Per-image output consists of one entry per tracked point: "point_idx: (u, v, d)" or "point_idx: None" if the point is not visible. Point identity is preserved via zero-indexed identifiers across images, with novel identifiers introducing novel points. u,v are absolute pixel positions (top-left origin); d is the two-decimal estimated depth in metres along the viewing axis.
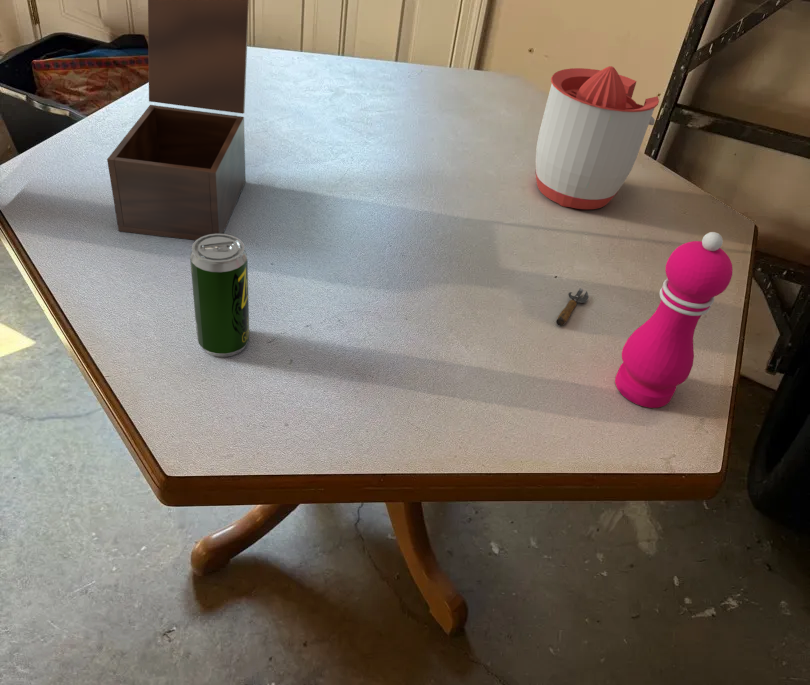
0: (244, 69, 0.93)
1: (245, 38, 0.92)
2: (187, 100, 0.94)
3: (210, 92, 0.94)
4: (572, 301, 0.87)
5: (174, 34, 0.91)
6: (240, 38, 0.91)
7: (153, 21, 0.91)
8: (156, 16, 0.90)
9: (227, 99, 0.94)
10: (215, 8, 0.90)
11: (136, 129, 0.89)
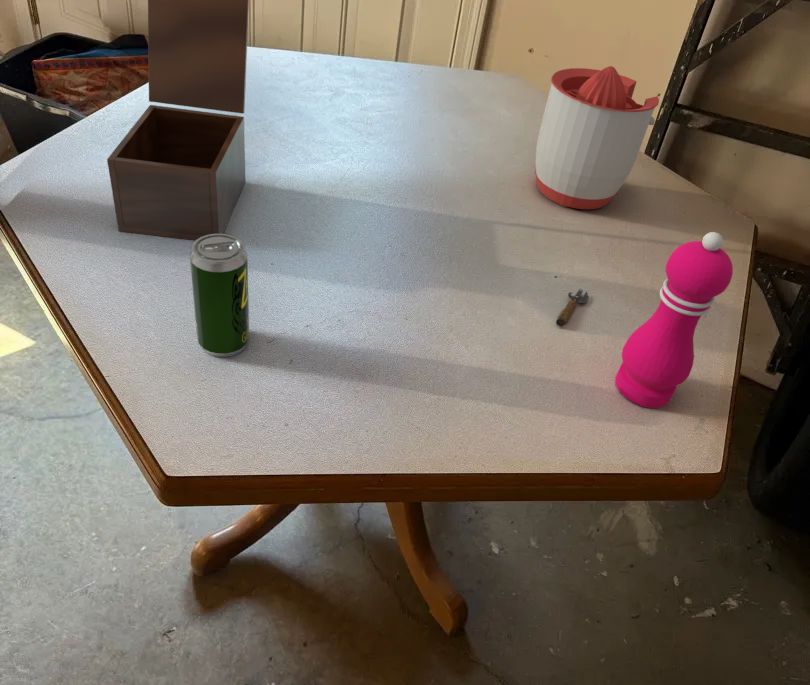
0: (244, 69, 0.93)
1: (245, 38, 0.92)
2: (187, 100, 0.94)
3: (210, 92, 0.94)
4: (572, 301, 0.87)
5: (174, 34, 0.91)
6: (240, 38, 0.91)
7: (153, 21, 0.91)
8: (156, 16, 0.90)
9: (227, 99, 0.94)
10: (215, 8, 0.90)
11: (136, 129, 0.89)
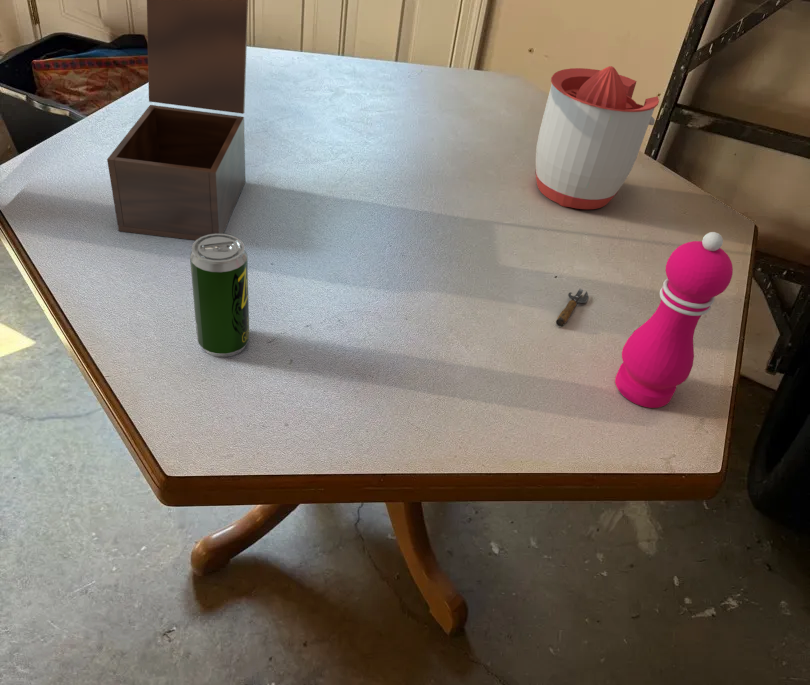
0: (244, 69, 0.93)
1: (244, 38, 0.91)
2: (187, 100, 0.94)
3: (209, 92, 0.94)
4: (572, 301, 0.87)
5: (173, 34, 0.91)
6: (239, 38, 0.91)
7: (152, 21, 0.90)
8: (155, 16, 0.90)
9: (227, 99, 0.94)
10: (214, 8, 0.90)
11: (136, 129, 0.89)
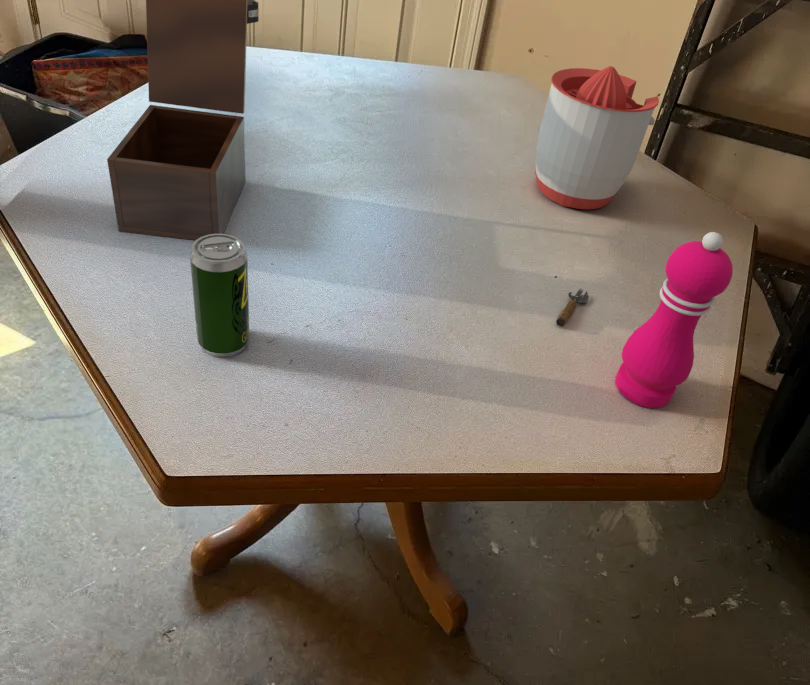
0: (243, 69, 0.93)
1: (244, 38, 0.91)
2: (187, 100, 0.94)
3: (209, 92, 0.94)
4: (572, 301, 0.87)
5: (173, 34, 0.91)
6: (239, 38, 0.91)
7: (151, 21, 0.90)
8: (154, 16, 0.90)
9: (227, 100, 0.94)
10: (214, 8, 0.89)
11: (136, 129, 0.89)
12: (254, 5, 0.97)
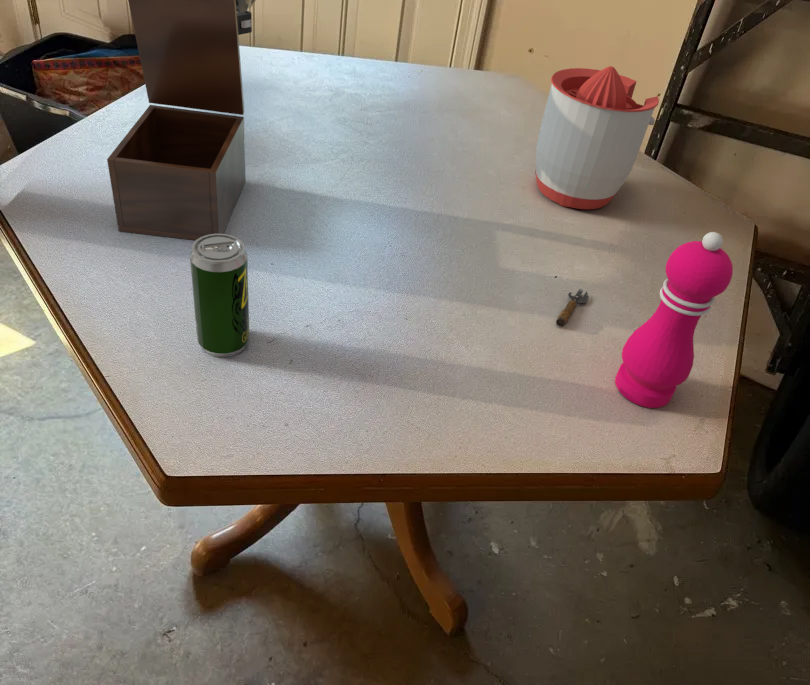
0: (239, 77, 0.91)
1: (237, 50, 0.88)
2: (186, 103, 0.94)
3: (208, 97, 0.93)
4: (572, 301, 0.87)
5: (164, 46, 0.88)
6: (232, 50, 0.88)
7: (140, 33, 0.86)
8: (142, 29, 0.86)
9: (226, 103, 0.94)
10: (202, 23, 0.85)
11: (136, 129, 0.89)
12: (247, 15, 0.93)
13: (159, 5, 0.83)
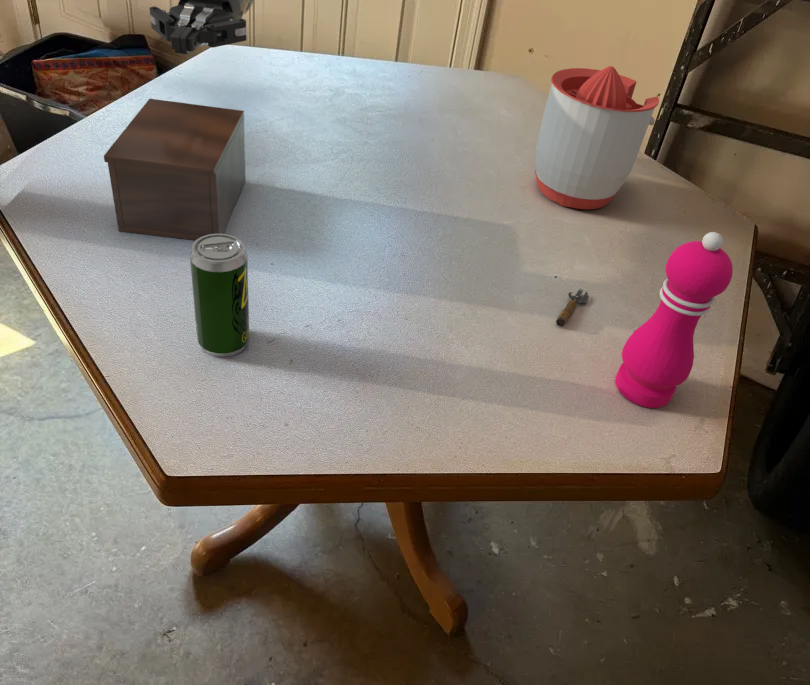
0: (234, 132, 0.91)
1: (228, 145, 0.88)
2: None
3: None
4: (572, 301, 0.87)
5: None
6: None
7: None
8: None
9: None
10: None
11: None
12: (241, 23, 0.90)
13: None
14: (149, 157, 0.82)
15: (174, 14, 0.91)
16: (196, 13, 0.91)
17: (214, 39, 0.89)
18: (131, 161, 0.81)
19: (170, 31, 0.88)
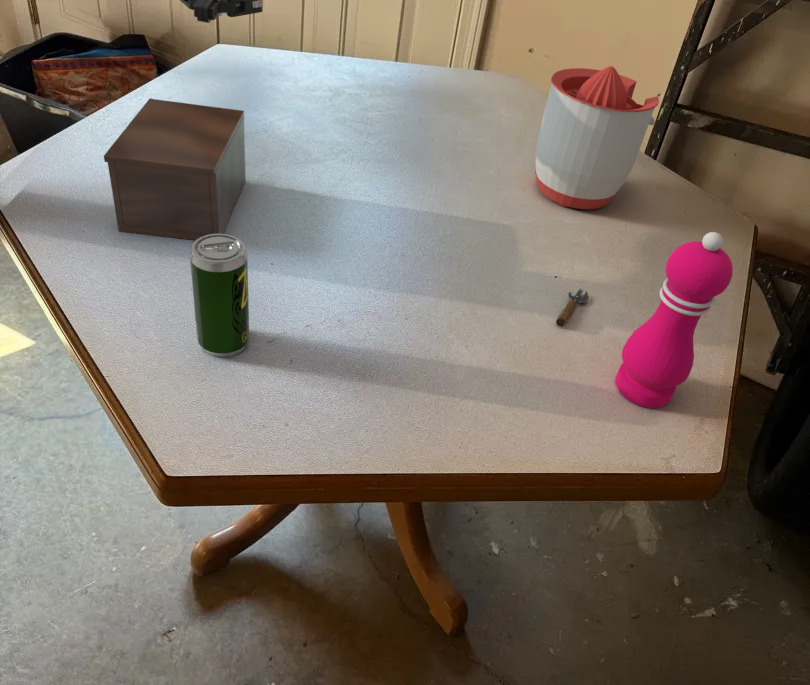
0: (234, 132, 0.91)
1: (228, 145, 0.88)
2: None
3: None
4: (572, 301, 0.87)
5: None
6: None
7: None
8: None
9: None
10: None
11: None
12: None
13: None
14: (149, 157, 0.82)
15: None
16: None
17: (233, 9, 0.96)
18: (131, 161, 0.81)
19: (193, 0, 0.95)
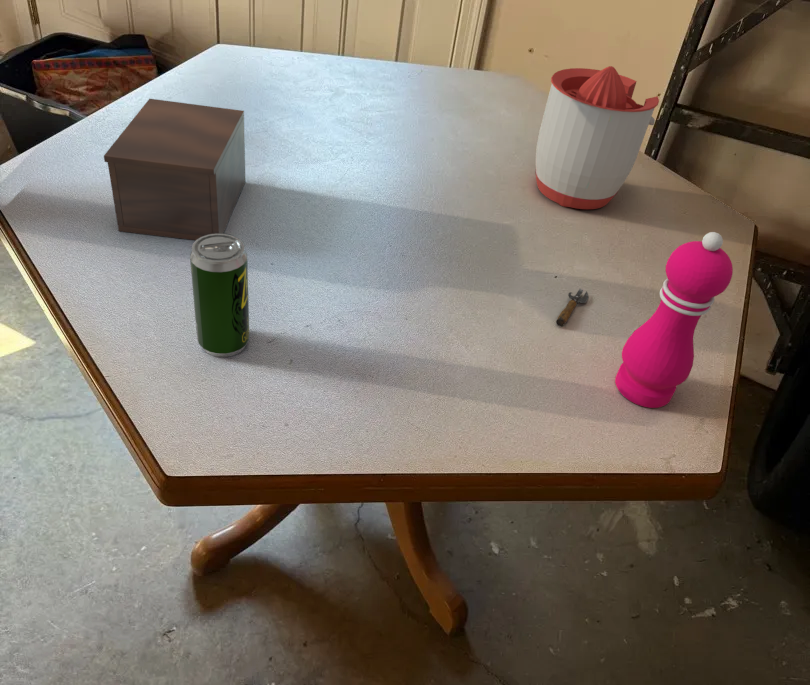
0: (234, 132, 0.91)
1: (228, 145, 0.88)
2: None
3: None
4: (572, 301, 0.87)
5: None
6: None
7: None
8: None
9: None
10: None
11: None
12: None
13: None
14: (149, 157, 0.82)
15: None
16: None
17: None
18: (131, 161, 0.81)
19: None
